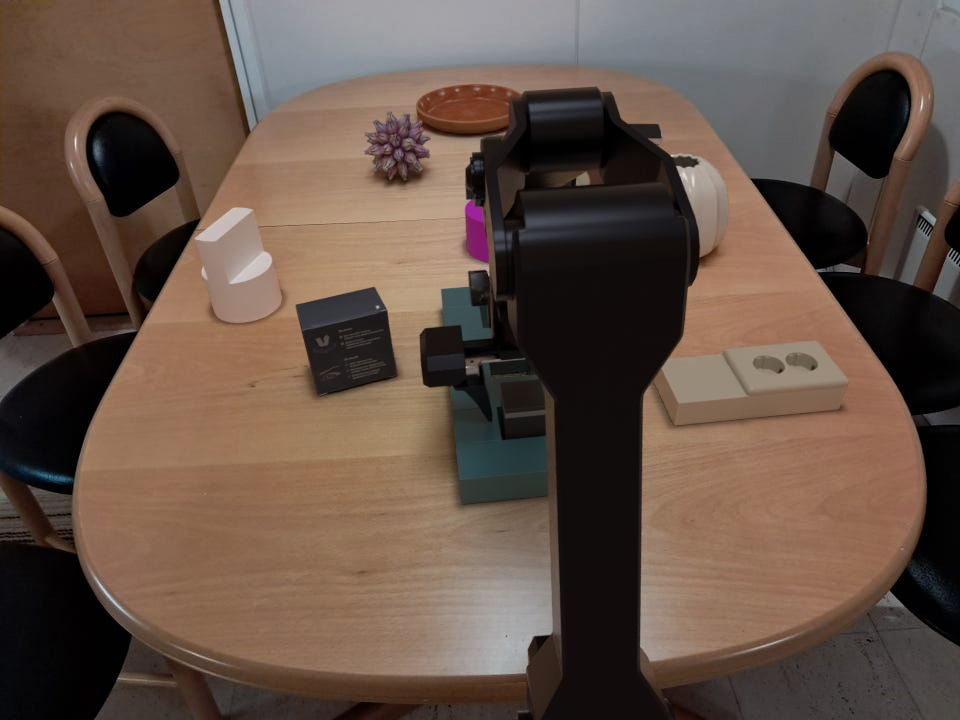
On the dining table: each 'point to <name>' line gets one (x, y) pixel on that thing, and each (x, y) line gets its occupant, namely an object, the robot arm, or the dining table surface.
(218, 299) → the base with upright slab
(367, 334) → the box
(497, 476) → the teal three-hole plate
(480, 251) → the magenta slotted-back ring holder
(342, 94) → the dining table surface
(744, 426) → the dining table surface
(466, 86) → the saucer
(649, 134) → the smartphone
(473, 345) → the robot arm
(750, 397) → the electrical outlet
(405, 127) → the flower
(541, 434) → the block
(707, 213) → the vase
